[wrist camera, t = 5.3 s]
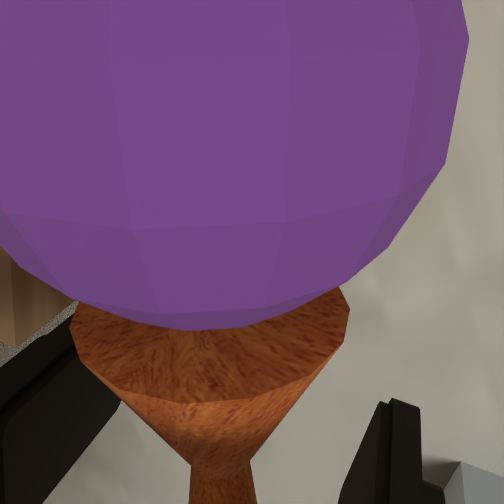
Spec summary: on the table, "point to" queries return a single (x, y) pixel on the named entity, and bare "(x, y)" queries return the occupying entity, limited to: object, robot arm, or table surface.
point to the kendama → (217, 190)
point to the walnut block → (25, 302)
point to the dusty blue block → (474, 486)
